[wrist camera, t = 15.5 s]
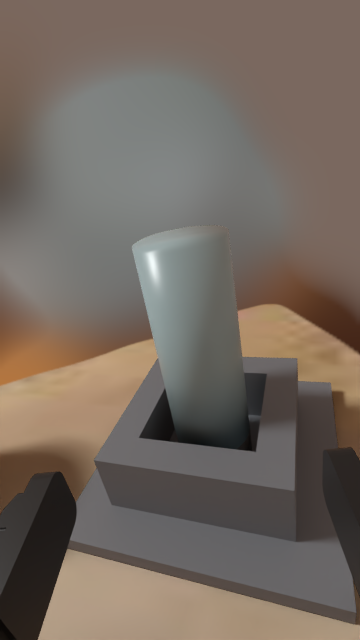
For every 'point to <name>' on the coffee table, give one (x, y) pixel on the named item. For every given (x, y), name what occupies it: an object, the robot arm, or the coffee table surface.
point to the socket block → (225, 496)
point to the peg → (196, 333)
